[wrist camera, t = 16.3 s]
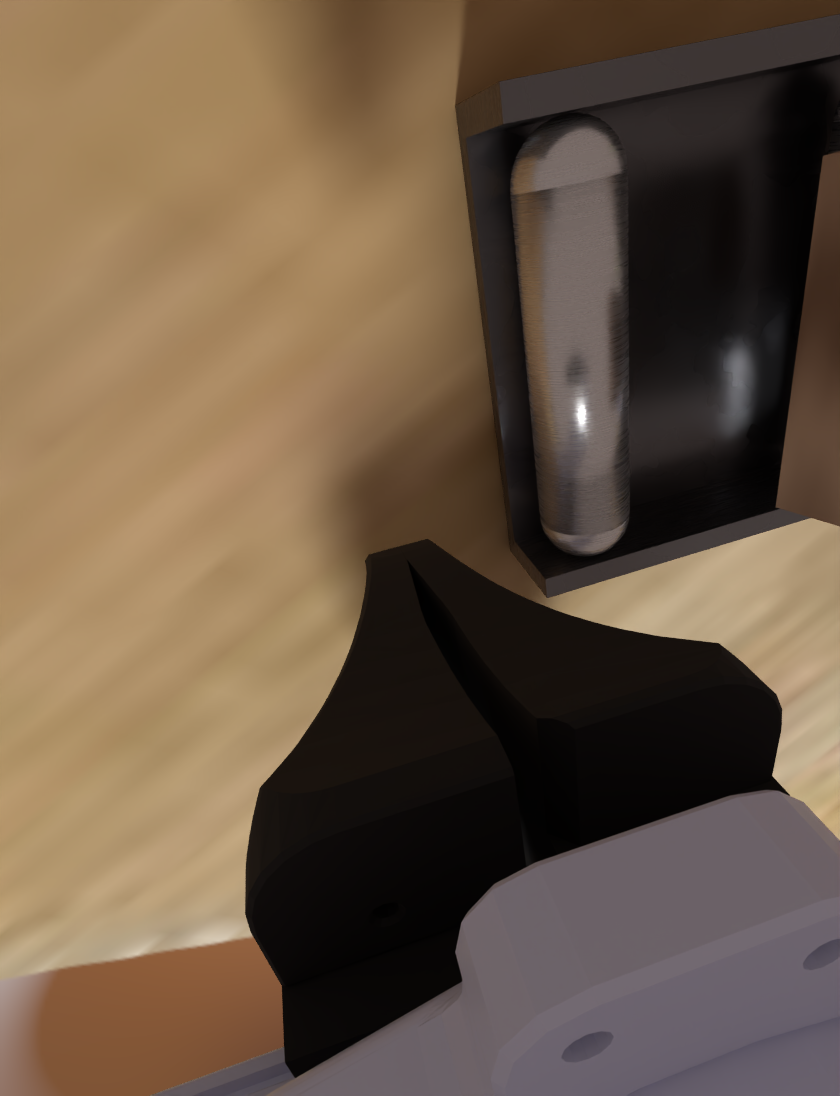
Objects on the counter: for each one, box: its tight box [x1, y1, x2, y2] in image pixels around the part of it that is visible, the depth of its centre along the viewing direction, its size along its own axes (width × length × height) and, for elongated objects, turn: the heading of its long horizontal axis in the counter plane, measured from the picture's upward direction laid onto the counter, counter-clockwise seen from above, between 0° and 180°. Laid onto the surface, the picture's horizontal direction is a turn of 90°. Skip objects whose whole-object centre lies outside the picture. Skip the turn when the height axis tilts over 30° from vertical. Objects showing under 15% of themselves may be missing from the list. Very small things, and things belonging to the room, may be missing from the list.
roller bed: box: [455, 14, 840, 598], centre depth 19 cm, size 15×14×4 cm
